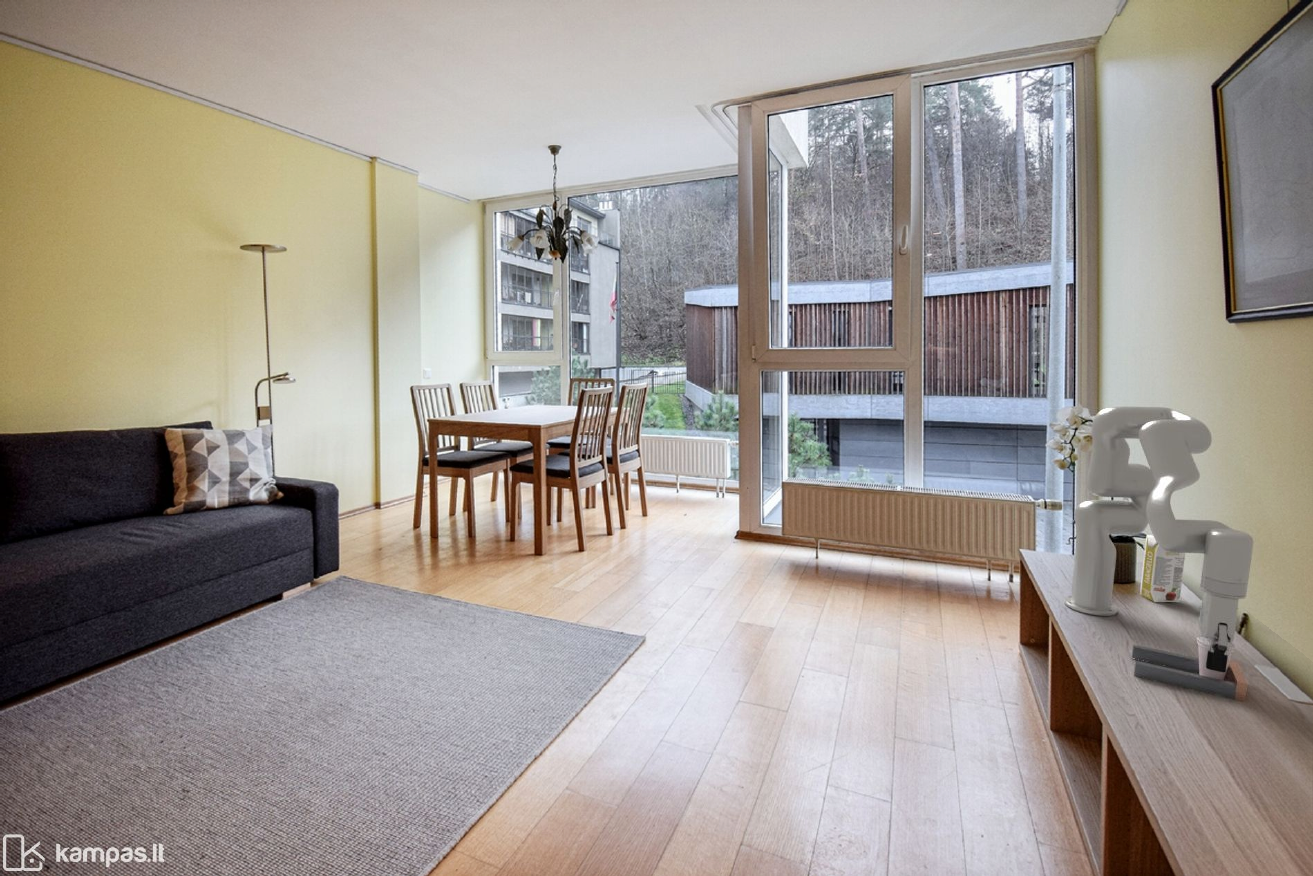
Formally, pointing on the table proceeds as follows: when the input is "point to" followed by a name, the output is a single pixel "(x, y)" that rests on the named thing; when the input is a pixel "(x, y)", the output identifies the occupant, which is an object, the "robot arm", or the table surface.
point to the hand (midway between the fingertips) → (1213, 663)
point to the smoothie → (1203, 651)
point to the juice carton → (1161, 573)
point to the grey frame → (1230, 688)
